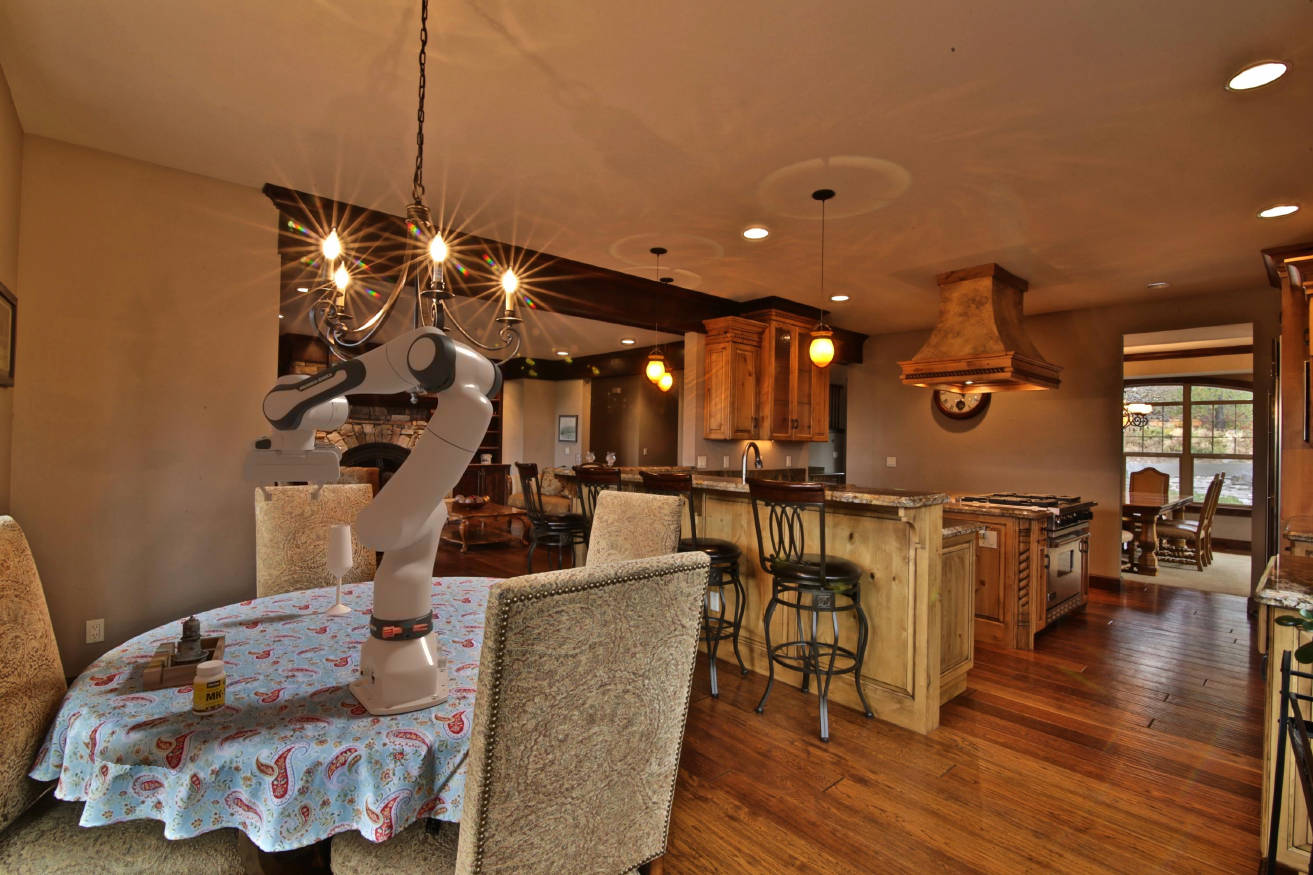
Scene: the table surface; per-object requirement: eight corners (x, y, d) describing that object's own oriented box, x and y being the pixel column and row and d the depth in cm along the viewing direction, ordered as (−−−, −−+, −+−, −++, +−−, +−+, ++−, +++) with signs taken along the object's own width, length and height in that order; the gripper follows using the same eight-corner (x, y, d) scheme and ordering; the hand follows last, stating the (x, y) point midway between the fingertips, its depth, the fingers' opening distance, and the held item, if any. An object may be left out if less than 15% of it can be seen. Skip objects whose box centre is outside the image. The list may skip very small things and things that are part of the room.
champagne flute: (350, 606, 174) (352, 523, 174) (352, 612, 168) (355, 527, 168) (323, 609, 170) (326, 524, 170) (325, 615, 165) (328, 528, 165)
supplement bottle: (205, 718, 106) (207, 670, 106) (185, 713, 107) (187, 667, 107) (231, 706, 111) (232, 660, 111) (212, 702, 112) (213, 657, 112)
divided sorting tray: (216, 679, 122) (216, 660, 122) (142, 691, 116) (143, 670, 116) (224, 651, 137) (225, 634, 137) (160, 659, 131) (160, 641, 131)
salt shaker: (166, 674, 122) (167, 615, 122) (198, 665, 127) (200, 608, 127) (181, 680, 119) (182, 620, 119) (214, 670, 125) (215, 613, 124)
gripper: (341, 443, 151) (339, 497, 151) (243, 441, 141) (241, 500, 141) (343, 443, 146) (341, 500, 146) (241, 442, 135) (239, 503, 135)
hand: (291, 500), depth 143 cm, fingers open, 8 cm apart
